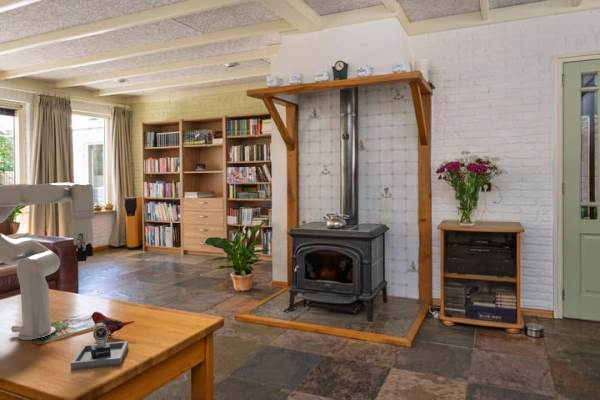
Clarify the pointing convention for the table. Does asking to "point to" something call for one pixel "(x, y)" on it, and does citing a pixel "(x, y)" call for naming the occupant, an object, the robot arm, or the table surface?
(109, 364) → the tray
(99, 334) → the watch
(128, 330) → the table surface
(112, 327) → the decorative bird figurine
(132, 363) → the table surface
